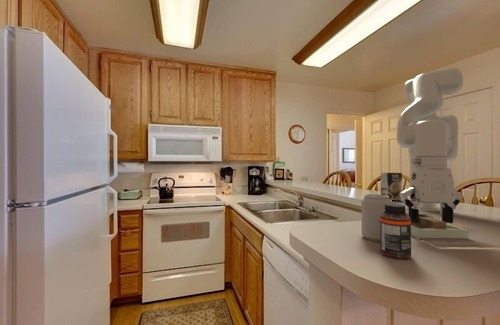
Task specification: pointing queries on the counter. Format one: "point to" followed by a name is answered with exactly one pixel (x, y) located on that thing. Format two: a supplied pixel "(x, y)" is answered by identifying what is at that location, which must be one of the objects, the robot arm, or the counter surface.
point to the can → (373, 215)
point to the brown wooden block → (428, 222)
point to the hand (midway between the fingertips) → (430, 222)
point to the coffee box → (391, 185)
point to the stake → (453, 222)
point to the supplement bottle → (395, 231)
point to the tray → (440, 232)
